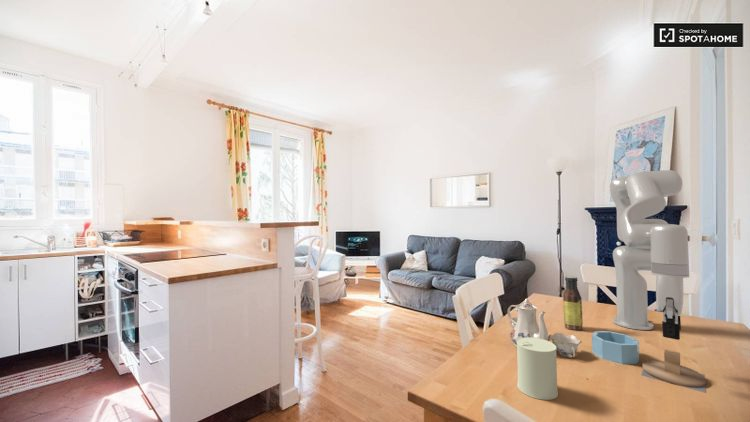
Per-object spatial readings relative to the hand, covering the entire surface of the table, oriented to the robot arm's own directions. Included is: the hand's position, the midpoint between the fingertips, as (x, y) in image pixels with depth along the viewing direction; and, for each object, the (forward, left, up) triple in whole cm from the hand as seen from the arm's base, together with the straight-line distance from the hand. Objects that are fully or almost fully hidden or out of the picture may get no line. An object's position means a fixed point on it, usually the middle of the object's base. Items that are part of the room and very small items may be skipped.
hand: (672, 333), depth 84 cm
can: (+31, -24, -12) cm, 41 cm away
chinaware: (+3, -34, -12) cm, 36 cm away
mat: (-1, 0, -12) cm, 12 cm away
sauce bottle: (-25, -29, -12) cm, 40 cm away
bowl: (-5, -13, -12) cm, 18 cm away
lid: (-1, 0, -11) cm, 11 cm away
